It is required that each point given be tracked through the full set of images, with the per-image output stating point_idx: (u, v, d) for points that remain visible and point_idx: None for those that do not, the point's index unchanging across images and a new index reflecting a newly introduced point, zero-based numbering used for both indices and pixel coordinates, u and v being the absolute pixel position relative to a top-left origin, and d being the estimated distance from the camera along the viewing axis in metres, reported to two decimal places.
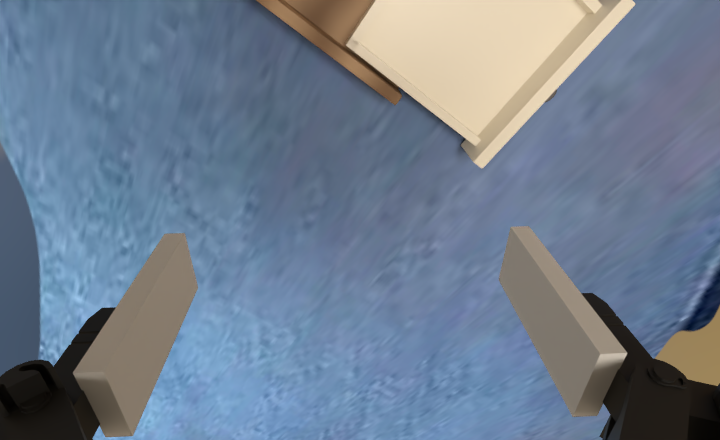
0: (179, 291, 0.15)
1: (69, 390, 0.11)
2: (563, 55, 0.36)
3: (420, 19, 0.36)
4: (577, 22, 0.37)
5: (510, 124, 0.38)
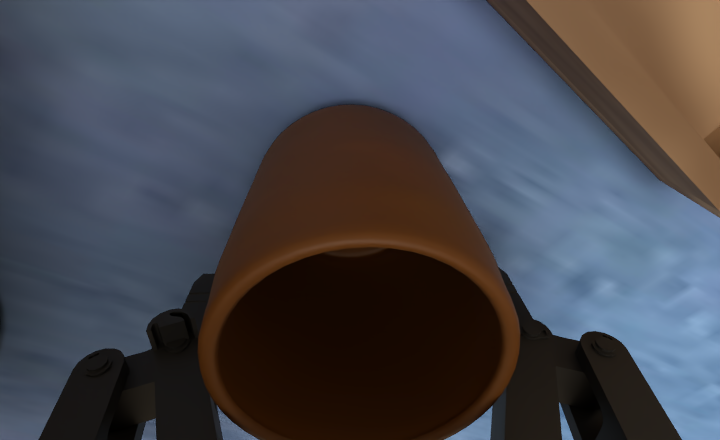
0: None
1: None
2: None
3: None
4: None
5: None
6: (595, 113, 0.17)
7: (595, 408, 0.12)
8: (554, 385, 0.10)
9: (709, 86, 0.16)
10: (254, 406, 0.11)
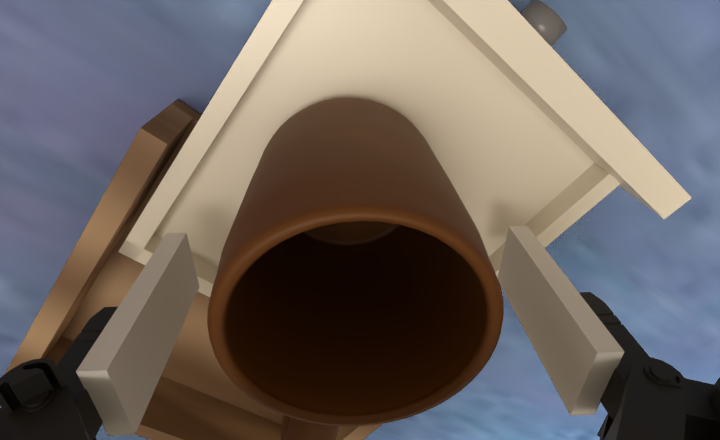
0: (181, 290, 0.15)
1: (72, 388, 0.11)
2: (452, 15, 0.13)
3: None
4: None
5: (601, 147, 0.15)
6: None
7: None
8: (680, 438, 0.09)
9: None
10: (260, 377, 0.12)
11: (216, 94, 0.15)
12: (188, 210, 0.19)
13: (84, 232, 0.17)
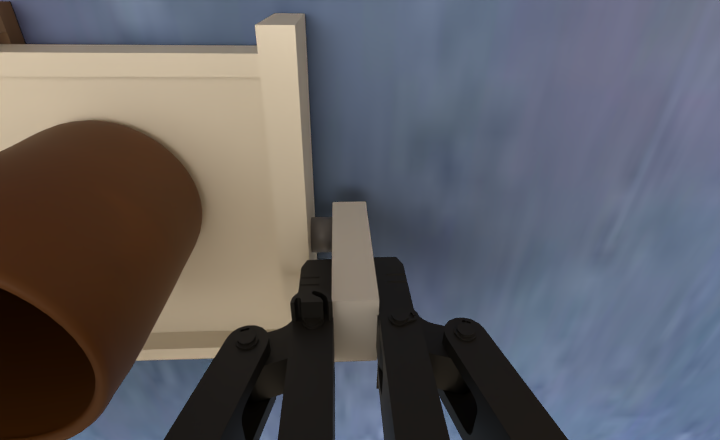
0: None
1: None
2: None
3: None
4: None
5: None
6: None
7: (468, 389, 0.12)
8: (428, 364, 0.11)
9: None
10: None
11: (60, 54, 0.14)
12: None
13: None
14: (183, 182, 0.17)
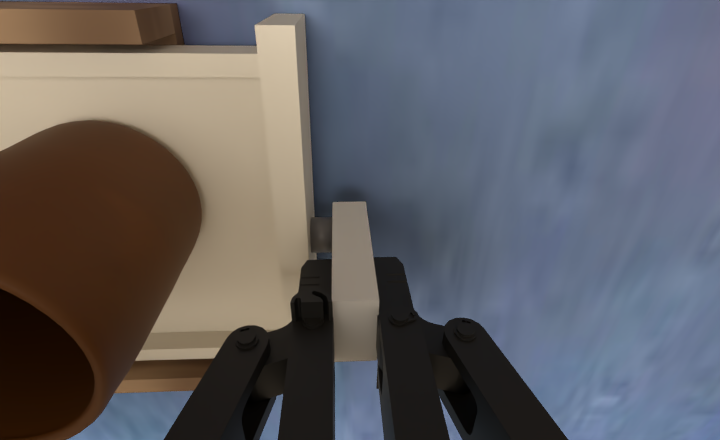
0: None
1: None
2: None
3: None
4: None
5: None
6: None
7: (468, 390, 0.12)
8: (428, 364, 0.11)
9: None
10: None
11: (60, 54, 0.14)
12: None
13: None
14: (183, 182, 0.17)
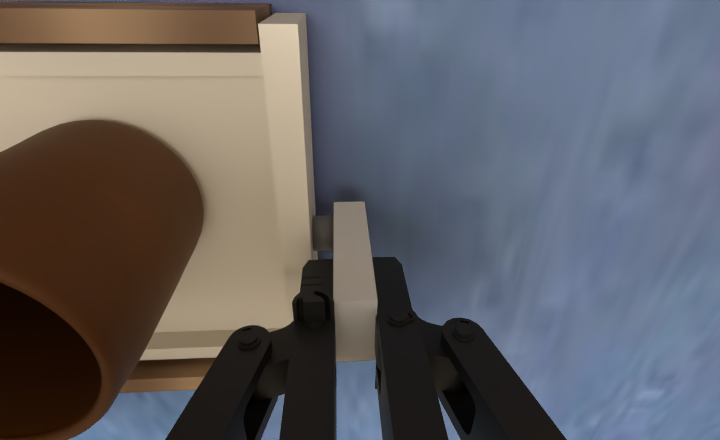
0: None
1: None
2: None
3: None
4: None
5: None
6: None
7: (467, 389, 0.12)
8: (427, 364, 0.11)
9: None
10: None
11: (62, 53, 0.14)
12: None
13: (80, 10, 0.13)
14: (185, 181, 0.17)
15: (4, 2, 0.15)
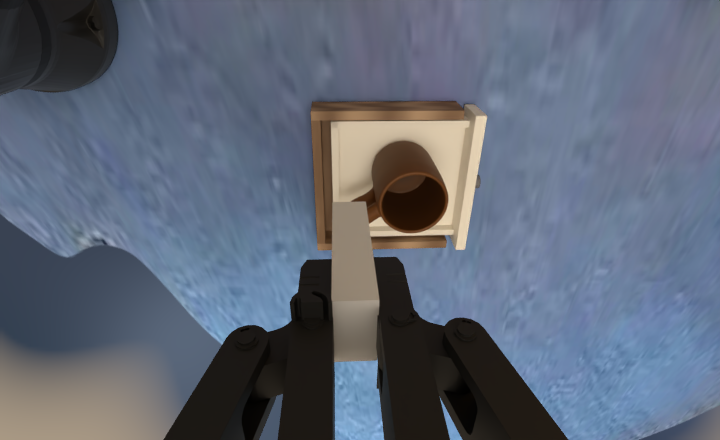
0: None
1: None
2: (466, 162, 0.49)
3: None
4: (463, 133, 0.49)
5: (462, 218, 0.51)
6: None
7: (468, 390, 0.12)
8: (429, 364, 0.11)
9: None
10: None
11: (407, 121, 0.47)
12: (355, 130, 0.48)
13: (416, 111, 0.45)
14: None
15: (375, 103, 0.48)
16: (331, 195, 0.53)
